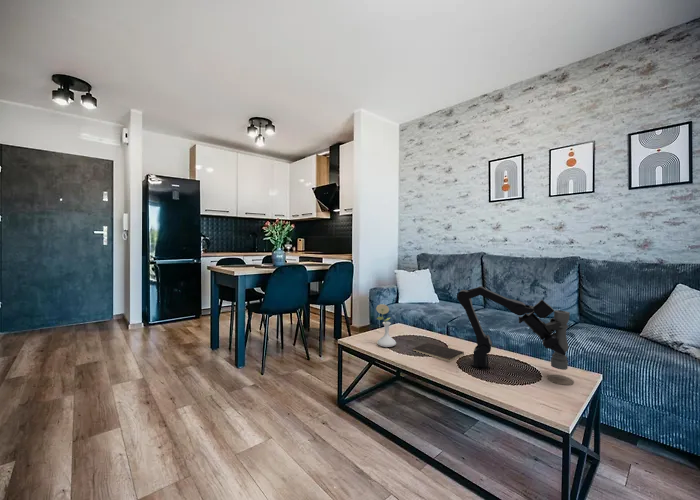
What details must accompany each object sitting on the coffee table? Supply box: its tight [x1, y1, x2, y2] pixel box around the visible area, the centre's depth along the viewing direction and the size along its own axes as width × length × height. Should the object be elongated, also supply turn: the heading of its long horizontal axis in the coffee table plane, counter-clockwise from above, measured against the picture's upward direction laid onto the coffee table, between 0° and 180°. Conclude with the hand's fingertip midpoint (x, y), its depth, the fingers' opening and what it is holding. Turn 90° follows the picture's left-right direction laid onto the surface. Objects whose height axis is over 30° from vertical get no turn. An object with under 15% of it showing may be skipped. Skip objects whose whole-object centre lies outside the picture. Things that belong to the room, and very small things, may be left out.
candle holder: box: [550, 309, 571, 371], centre depth 139 cm, size 6×6×25 cm
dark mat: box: [546, 373, 575, 386], centre depth 139 cm, size 10×10×1 cm
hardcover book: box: [412, 341, 465, 363], centre depth 175 cm, size 16×23×2 cm
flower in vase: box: [375, 303, 397, 348], centre depth 188 cm, size 13×11×25 cm
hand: (563, 352), depth 139 cm, fingers closed on candle holder, 6 cm apart
